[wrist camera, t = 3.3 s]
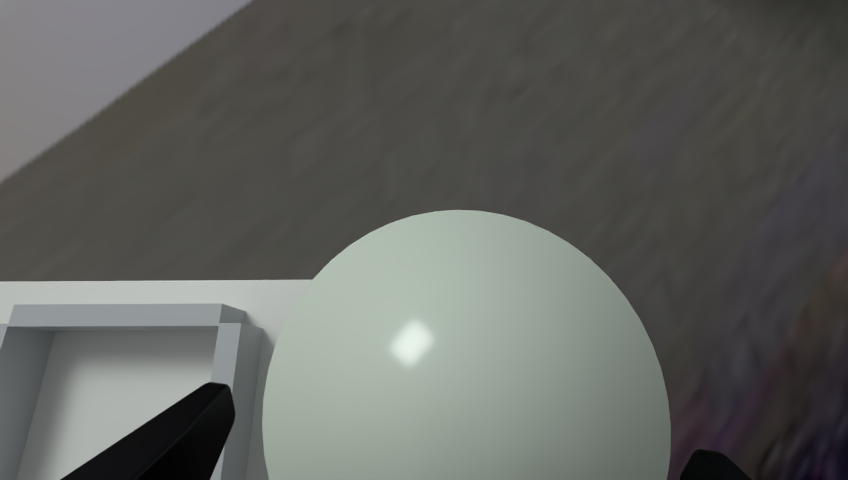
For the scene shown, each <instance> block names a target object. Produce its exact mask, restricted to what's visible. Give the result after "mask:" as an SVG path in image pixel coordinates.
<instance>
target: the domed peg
mask: <svg viewBox="0 0 848 480" xmlns="http://www.w3.org/2000/svg"><path fill="white" fill-rule="evenodd" d="M262 431H263V445H264V456H265V461H266V466H267V471H268V476H269V480H667V474H668V468H669V461H670V439H671V424H670V415H669V405H668V397H667V393H666V388H665V384H664V379H663V375H662V371H661V368H660V365H659V362H658V359H657V356H656V354H655V351H654V348H653V345H652V343H651V341H650V339H649V337H648V335H647V333H646V331H645V329H644V327H643V325H642V323H641V321H640V319H639V317H638V316H637V314H636V313H635V311H634V309H633V308H632V306H631V305H630V303H629V302H628V300H627V299H626V297H625V296H624V295H623V293H622V292H621V291H620V290H619V289H618V287H617V286H616V285H615V284H614V283H613V281H612V280H611V279H610V278H609V277H608V276H607V275H606V274H605V273H604V272H603V271H602V270H601V269H600V268H599V267H598V266H597V265H596V264H595V263H594V262H593V261H592V260H591V259H590V258H588V257H587V256H586V255H584V254H583V253H582V252H580V251H579V250H578V249H576V248H575V247H574V246H572V245H571V244H570V243H568V242H566V241H564V240H563V239H561V238H559V237H557V236H556V235H554V234H552V233H551V232H549V231H547V230H544V229H542V228H540V227H537V226H535V225H533V224H531V223H528V222H526V221H522V220H519V219H516V218H512V217H509V216H506V215H501V214H495V213H490V212H484V211H470V210H449V211H435V212H430V213H425V214H420V215H415V216H411V217H408V218H405V219H402V220H398V221H395V222H392V223H390V224H388V225H385V226H383V227H381V228H379V229H377V230H375V231H373V232H370V233H369V234H367V235H365V236H364V237H362V238H361V239H359V240H357V241H356V242H354V243H353V244H351V245H350V246H348V247H347V248H346V249H345V250H343V251H342V252H341V253H340V254H338V255H337V256H336V257H335V258H334V259H332V260H331V261H330V262H329V263H328V264H327V265H326V266H325V267H324V268H323V269H322V270H321V271H320V272H319V274H318V275H317V276H316V277H315V278H314V279H313V280H312V281H311V283H310V284H309V285H308V287H307V288H306V289H305V291H304V292H303V293H302V295H301V296H300V297H299V299H298V301H297V302H296V304H295V306H294V307H293V309H292V311H291V313H290V314H289V316H288V318H287V320H286V322H285V324H284V326H283V329H282V331H281V333H280V336H279V338H278V340H277V342H276V345H275V348H274V352H273V355H272V359H271V362H270V365H269V369H268V374H267V379H266V385H265V391H264V397H263V417H262Z"/></svg>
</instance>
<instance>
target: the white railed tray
mask: <svg viewBox="0 0 848 480" xmlns="http://www.w3.org/2000/svg"><path fill="white" fill-rule="evenodd" d="M311 281H312V280H205V281H50V282H0V480H60V479H62V478H63V477H65V476H66V475H68V474H69V473H71V472H72V471H74V470H75V469H77V468H78V467H80V466H81V465H83V464H84V463H86V462H87V461H89V460H90V459H92V458H93V457H95V456H96V455H98V454H99V453H101V452H102V451H104V450H105V449H107V448H108V447H110V446H111V445H113V444H114V443H116V442H117V441H119V440H120V439H122V438H123V437H125V436H126V435H128V434H129V433H131V432H132V431H134V430H135V429H137V428H138V427H140V426H142V425H143V424H145V423H146V422H148V421H149V420H151V419H152V418H154V417H155V416H157V415H158V414H160V413H161V412H163V411H164V410H166V409H167V408H169V407H170V406H172V405H173V404H175V403H176V402H178V401H179V400H181V399H182V398H184V397H185V396H187V395H188V394H190V393H191V392H193V391H194V390H196V389H197V388H199V387H200V386H202V385H203V384H205V383H208V382H216V383H223V384H228V386H229V387H230V388H231V393H232V397H233V402H234V407H235V413H236V414H235V421H234V424H233V427H232V429H231V431H230V434H229V436H228V438H227V441H226V443H225V446H224V448H223V450H222V453H221V455H220V457H219V460H218V462H217V465H216V467H215V469H214V472H213V474H212V477H211V479H210V480H269V476H268V471H267V466H266V461H265V456H264V445H263V431H262V417H263V397H264V391H265V385H266V379H267V374H268V369H269V365H270V362H271V359H272V355H273V352H274V348H275V345H276V342H277V340H278V338H279V336H280V333H281V331H282V329H283V326H284V324H285V322H286V320H287V318H288V316H289V314H290V313H291V311H292V309H293V307H294V306H295V304H296V302H297V301H298V299H299V297H300V296H301V295H302V293H303V292H304V291H305V289H306V288H307V287H308V285H309V284H310V283H311Z"/></svg>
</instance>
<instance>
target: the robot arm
mask: <svg viewBox="0 0 848 480" xmlns="http://www.w3.org/2000/svg"><path fill="white" fill-rule="evenodd" d="M235 414H236V413H235V407H234V402H233V397H232V393H231V388H230V387H229V386H228V384H223V383H216V382H208V383H205V384H203V385H202V386H200V387H199V388H197V389H196V390H194V391H193V392H191V393H190V394H188V395H187V396H185V397H184V398H182V399H181V400H179V401H178V402H176V403H175V404H173V405H172V406H170V407H169V408H167V409H166V410H164V411H163V412H161V413H160V414H158V415H157V416H155V417H154V418H152V419H151V420H149V421H148V422H146V423H145V424H143V425H142V426H140V427H138V428H137V429H135V430H134V431H132V432H131V433H129V434H128V435H126V436H125V437H123V438H122V439H120V440H119V441H117V442H116V443H114V444H113V445H111V446H110V447H108V448H107V449H105V450H104V451H102V452H101V453H99V454H98V455H96V456H95V457H93V458H92V459H90V460H89V461H87V462H86V463H84V464H83V465H81V466H80V467H78V468H77V469H75V470H74V471H72V472H71V473H69V474H68V475H66V476H65V477H63V478H62V479H60V480H210V479H211V477H212V474H213V472H214V469H215V467H216V465H217V462H218V460H219V457H220V455H221V453H222V450H223V448H224V446H225V443H226V441H227V438H228V436H229V434H230V431H231V429H232V427H233V424H234V421H235ZM680 480H752V479H750V478H749V477H748V476H747V475H746V474H745V473H744V472H743V471H742V470H741V469H740V468H739V467H737V466H736V465H735V464H734V463H733V462H732V461H731V460H730V459H729V458H728V457H726V456H725V455H724V454H722V453H720V452H717V451H710V450H703V449H698V450H696V451H694V452H693V454H692V456H691V457H690V459H689V461H688V463H687V464H686V466H685V468H684V470H683V471H682V473H681V476H680Z"/></svg>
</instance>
